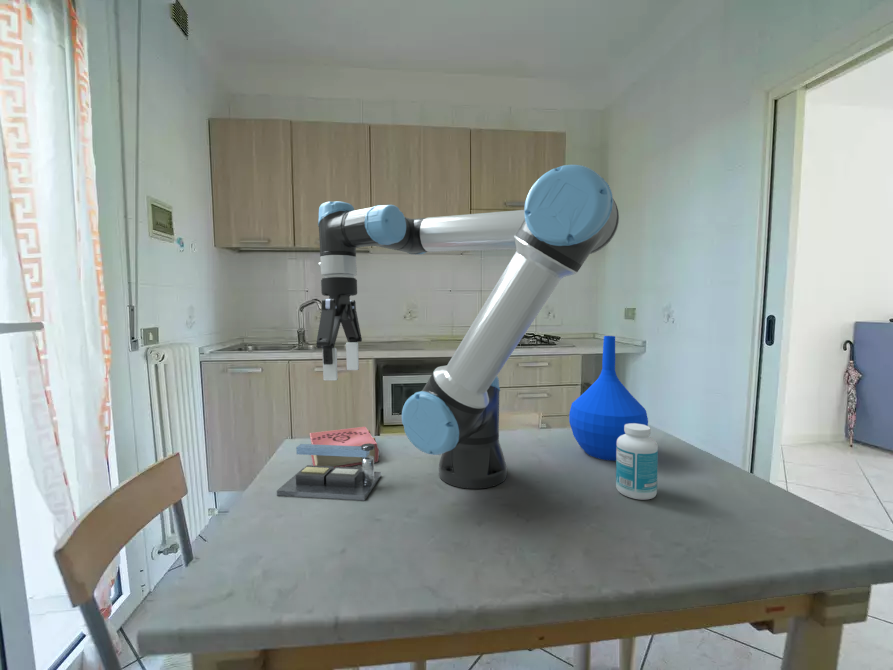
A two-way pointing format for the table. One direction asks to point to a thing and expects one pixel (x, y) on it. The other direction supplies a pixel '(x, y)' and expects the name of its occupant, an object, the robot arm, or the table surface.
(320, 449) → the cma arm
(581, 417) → the vase
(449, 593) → the table surface
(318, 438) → the book
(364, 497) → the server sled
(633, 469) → the pill bottle
